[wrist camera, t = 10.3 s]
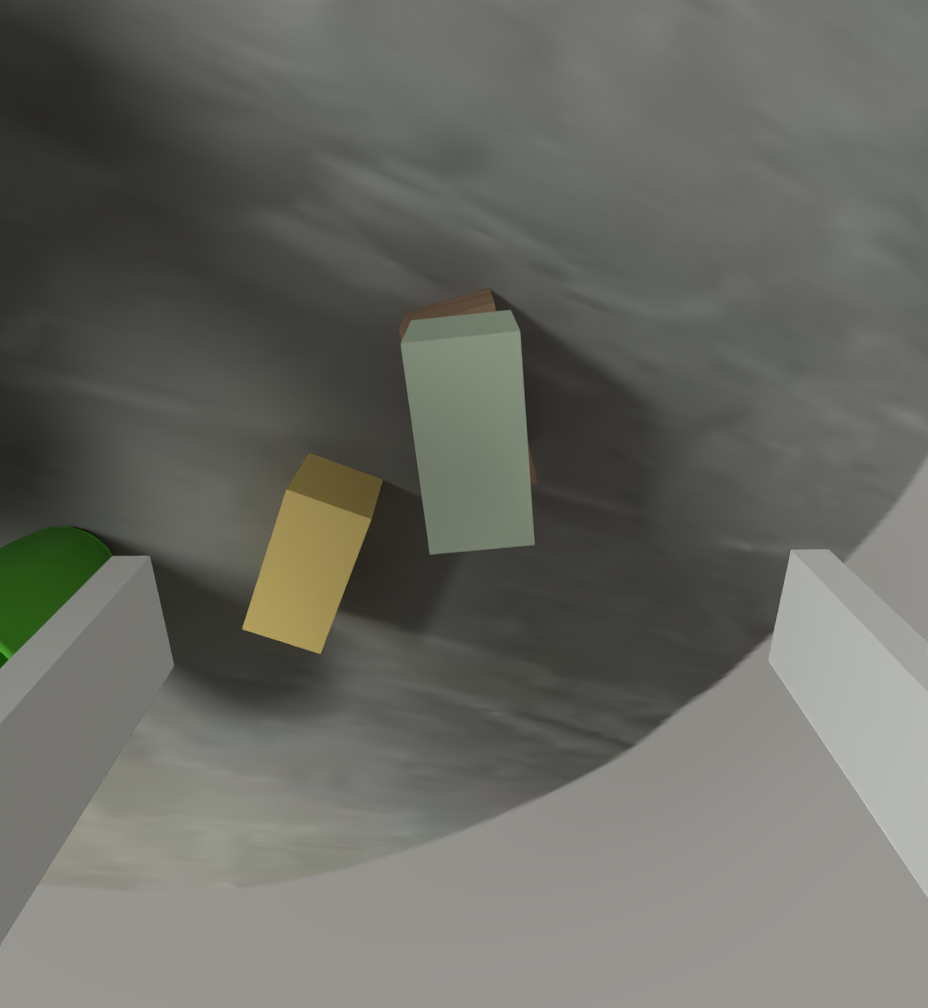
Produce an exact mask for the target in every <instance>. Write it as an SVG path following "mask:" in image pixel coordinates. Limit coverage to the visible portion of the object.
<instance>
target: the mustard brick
mask: <svg viewBox="0 0 928 1008" xmlns="http://www.w3.org/2000/svg"><path fill="white" fill-rule="evenodd" d="M382 482H383V479H380V478H377V477H375V476H372V475H369V474H366V473H364V472H361V471H358V470H355V469H353V468H350V467H347V466H344V465H342V464H339V463H336V462H333V461H331V460H328V459H325V458H322V457H320V456H317V455H314V454H311V453H309V454H308V455H307V457H306V459H305V460H304V462H303V463H302V465H301V467H300V468H299V470H298V471H297V473H296V475H295V476H294V478H293V479H292V481H291V483H290V484H289V486H288V487H287V489H286V492H285V495H284V498H283V501H282V505H281V508H280V511H279V514H278V517H277V520H276V524H275V527H274V530H273V533H272V536H271V539H270V542H269V546H268V549H267V552H266V555H265V558H264V561H263V565H262V568H261V571H260V574H259V577H258V580H257V584H256V587H255V590H254V593H253V596H252V599H251V602H250V606H249V609H248V612H247V615H246V618H245V621H244V625H243V628H242V629H243V630H246V631H249V632H252V633H256V634H259V635H262V636H265V637H268V638H271V639H274V640H278V641H281V642H284V643H287V644H290V645H293V646H296V647H300V648H303V649H306V650H309V651H312V652H315V653H319V654H321V651H322V648H323V646H324V643H325V641H326V638H327V635H328V633H329V630H330V627H331V625H332V622H333V619H334V617H335V614H336V612H337V609H338V606H339V604H340V601H341V598H342V596H343V593H344V590H345V588H346V585H347V583H348V580H349V577H350V575H351V572H352V569H353V567H354V564H355V561H356V559H357V556H358V553H359V551H360V548H361V546H362V543H363V540H364V538H365V535H366V532H367V530H368V527H369V524H370V522H371V519H372V516H373V512H374V509H375V506H376V502H377V499H378V495H379V492H380V488H381V485H382Z"/></svg>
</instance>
